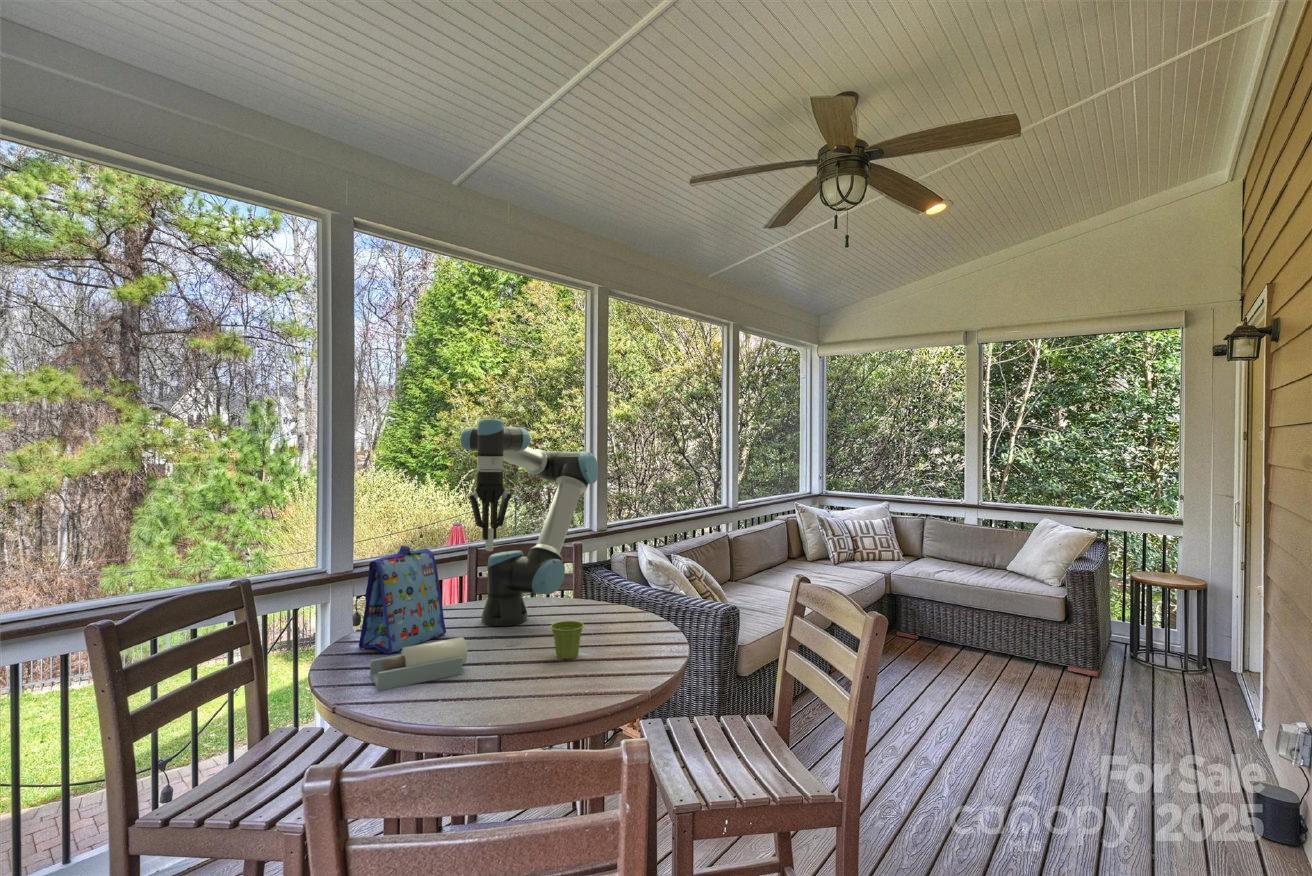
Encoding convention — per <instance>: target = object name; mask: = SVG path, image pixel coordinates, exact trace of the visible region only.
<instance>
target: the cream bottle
mask: <svg viewBox="0 0 1312 876" xmlns="http://www.w3.org/2000/svg"><path fill="white" fill-rule="evenodd" d="M400 655H401V656H399V657H394V658H388V659H383V660H382V671H387V670H392V669H398V668H403V667H408V666H414V665H419V664H425V663H430V662H435V661H441V660H446V659H452V658H457V657H461V658H462V665H465V664H466V663H467V659H468V647H467V642H466V640H465V638H464V637H462V636H461V637H459V636H458V637H455V638H449V639H444V640H438V641H437V640H436V641H432V642H427V643H419V644H416V645H413V646H409V647H403V648H402V650H400Z"/></svg>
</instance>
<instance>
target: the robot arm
mask: <svg viewBox="0 0 1312 876" xmlns="http://www.w3.org/2000/svg"><path fill="white" fill-rule="evenodd" d="M459 440H460V445H461V447H462V448H463V449H464V450H466V451H471V452H475V451H476V452H477V456H476V457H477V459H476V460H477V464H476V469H477V473H476V488H475V491H474V492H473V493H471V494H468V495H467V499H468V500H469V502H470V504H471V509H472V513H473V517H474V518H473V519H474V522H475V525H476V527H478V528H481V529H482V534H481V535H482V536H481V537H482V538H481V539H482V540H484V542H485V543H484V545H485V546H484V550H485V551H487V552H493V551H494V540H495V539H497V536H498V535H497V534H498V533H497V529H498V528H499V527H502V526H503V525H504V521H505V517H506V513H507V509H508V504H509V501H510V500H511V499H512V497H513V495H512V493H508V492H507V491H505V487H504V472H503V471H502V470H504V462H507V463H510V464H513V465H514V466H518V467H520V468H522V469H524V470H526V472H527V473H528V474H530V475H532V476H535V477H538V478H540V479H543V480H545V481H549V482H551V483H552V482H553V483H556V485H557V489H556V491H555V493H554V496H553V498H552V499H553V500H552V502H551V505H550V508H549V509H548V512H547V515H546V517H545V520H544V523H543V525H542V528H541V531H540V533H539V536H538V539H537V541H536V545H534V546H531V547H530V548H529V550H528V553H527V556H525V555H524V552H523V550H509V551H500V552H495V553H493V554H491V555H489V556H488V560H487V567H486V568H487V569H486V571H487V573H486V574H487V577H486V578H487V583H486V586H487V589H486V590H487V593H486V595H487V596H486V601H485V604H484V607H483V610H482V614H481V622H482V624H484V623H485V625H487V624H489V625H488V626H496V627H501V626H503V627H507V626H514V625H518V624H521V623H524V622H526V621H527V620H528V611H527V606H526V604H525V601H524V597H523V593H529V594H536V595H539V596H541V595H552V594H553V593H555V592H556V591H558V590H559V589H560V588H561V586H562V584H563V582H564V579H565V573H566V572H565V570H566V569H565V564H564V562H563V556H562V555H561V551H562V548H563V546H564V544H565V543H564V542H565V540H566V537H567V534H568V531H569V528H570V526H571V522H572V520H573V517H574V515H575V511H576V508H577V506H578V503H579V499H580V496H581V495H582V494H584V493H586V492H587V489H588V487H589V485H593V484H595V483H596V482H597V480H598V479H599V478H598V477H599V465H598V461H597V459H596V457H595V455H594V454H593V453H592V452H588V451H582V450H580V451H554V450H553V451H549V450H547V451H546V450H542V449H540V448H535V449H533V448H532V447H529V445H530V443H531V436H530V433H529V431H528V430H527V429H526V428H523V427H519V426H505V421H504V420H503V419H500V418H482V419H480V420H478V422H477V426H473V427H467V428H464V429H463V430H462V432H461V435H460V439H459ZM500 498H502V499H501V502H500V507H499V511H498V506H499V500H500ZM478 499H480V500H481V505H482V506H481V507H482V509H481V510H482V511H480V507H479V502H478ZM489 518H490V525H489ZM489 526H490V527H489Z"/></svg>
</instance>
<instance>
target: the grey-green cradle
mask: <svg viewBox="0 0 1312 876" xmlns="http://www.w3.org/2000/svg"><path fill="white" fill-rule="evenodd" d="M399 656H401V654H397V655H391V656H386V657H379V658H374V659H370V667H369V668H370V670H369V671H370V676H369V677H370V679H371V680H372V682H373V681H374V682H373V684H374V683H375V684H374V685H375V687H376V689H377V690H378V691H379V692H381V691H384V690H389V689H394V688H399V687H403V686H404V687H405V686H409V685H414V684H418V683H424V682H428V681H429V682H430V681H433V680H439V679H443V678H444V679H445V678H449V677H453V676H458V675H462V674H463V664H462V658H461V657H457V658H452V659H446V660H441V661H435V662H430V663H425V664H419V665H414V666H408V667H403V668H398V669H392V670H387V671H382V660H383V659H388V658H394V657H399Z"/></svg>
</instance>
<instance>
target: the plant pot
mask: <svg viewBox="0 0 1312 876" xmlns="http://www.w3.org/2000/svg"><path fill="white" fill-rule="evenodd" d="M584 626H585V624H584V623H583V622H581V621H577V620H563V621H557V622H554V623H552V624H551V625H550V629H551V632H552V634H553V640H554V648H555V654H556V655H555V656H556V657H557V658H558V659H561V660H562V659H563V660H564V659H567V660H571V659H574V658H575V659H576V658H577V657H578V656H579V650H580V644H581V642H580V641H581V638H582V637H581V635H582V632H583V628H584Z"/></svg>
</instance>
